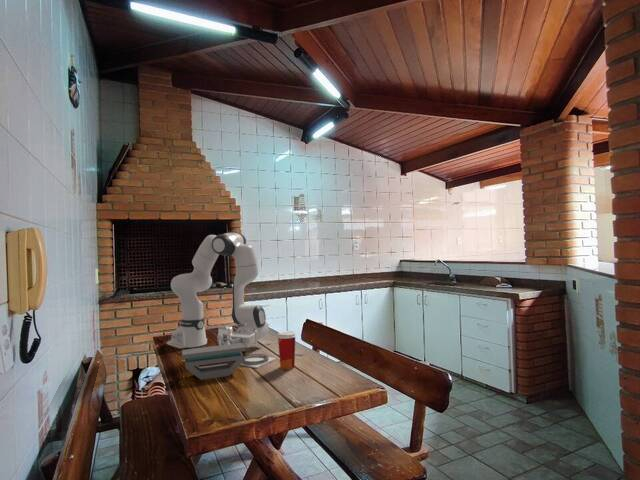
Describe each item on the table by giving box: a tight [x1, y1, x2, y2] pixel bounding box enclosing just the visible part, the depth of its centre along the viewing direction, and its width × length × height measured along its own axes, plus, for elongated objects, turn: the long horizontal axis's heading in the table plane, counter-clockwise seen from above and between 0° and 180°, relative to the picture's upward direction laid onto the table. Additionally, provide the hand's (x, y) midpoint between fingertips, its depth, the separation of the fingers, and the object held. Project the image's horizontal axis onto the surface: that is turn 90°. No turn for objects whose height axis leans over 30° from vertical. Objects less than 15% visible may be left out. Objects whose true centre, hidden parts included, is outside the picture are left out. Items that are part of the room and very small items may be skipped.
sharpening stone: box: [181, 343, 247, 381], centre depth 159 cm, size 25×8×11 cm, turn 112°
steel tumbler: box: [217, 325, 234, 346], centre depth 180 cm, size 7×7×15 cm
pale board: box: [239, 356, 278, 369], centre depth 175 cm, size 14×14×1 cm
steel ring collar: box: [242, 353, 270, 365], centre depth 175 cm, size 12×12×1 cm
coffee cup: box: [277, 330, 297, 371], centre depth 166 cm, size 8×8×15 cm
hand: (224, 341), depth 179 cm, fingers closed on steel tumbler, 6 cm apart
